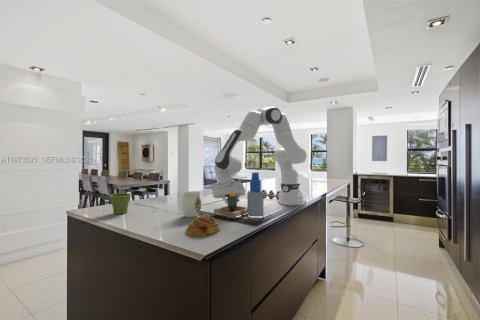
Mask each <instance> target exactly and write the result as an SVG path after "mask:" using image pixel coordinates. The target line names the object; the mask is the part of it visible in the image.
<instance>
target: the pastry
mask: <svg viewBox="0 0 480 320" xmlns="http://www.w3.org/2000/svg"><path fill="white" fill-rule="evenodd" d="M217 232H218V233H219V232H220V227H219V223H218V222H216V221H215V218H214V217H213V215H211V214H210V213H203V214H202V215H199V216H198V217H197V218H196V217H195V218H194V219H193V220H192V221H191V222H189V225H188V226H187V227H186V229H185V232H184V234H185V235H187V236H191V237H199V238H200V237H202V238H203V237H204V238H205V237H206V236H210V235H215V234H217Z"/></svg>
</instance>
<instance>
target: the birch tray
mask: <svg viewBox="0 0 480 320" xmlns="http://www.w3.org/2000/svg"><path fill="white" fill-rule="evenodd" d="M246 213H248V207H247V206H246V207H245V206H240V205H237V211H236V212H228V205H225V206H221V207H217V208H214V209H213V215H214V214H220V215H224V216H230V217H236V216H239V215H243V214H246Z"/></svg>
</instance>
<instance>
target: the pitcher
mask: <svg viewBox="0 0 480 320" xmlns="http://www.w3.org/2000/svg"><path fill="white" fill-rule="evenodd" d="M181 194H182V199H181V210H182V212H183V215H184V217H186V218H196V217H198V216H199V214H200V211H201V209H202V200H201V192H200V191H184V192H182V193H181Z"/></svg>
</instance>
